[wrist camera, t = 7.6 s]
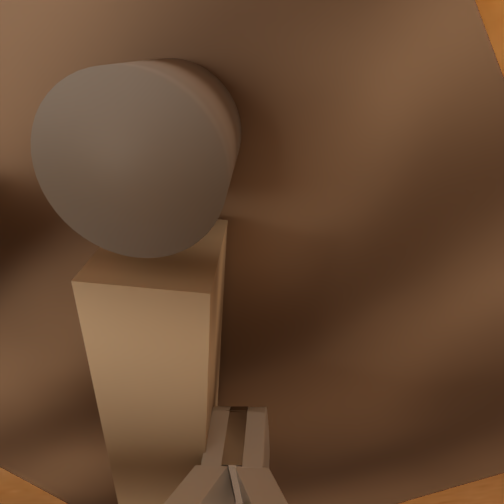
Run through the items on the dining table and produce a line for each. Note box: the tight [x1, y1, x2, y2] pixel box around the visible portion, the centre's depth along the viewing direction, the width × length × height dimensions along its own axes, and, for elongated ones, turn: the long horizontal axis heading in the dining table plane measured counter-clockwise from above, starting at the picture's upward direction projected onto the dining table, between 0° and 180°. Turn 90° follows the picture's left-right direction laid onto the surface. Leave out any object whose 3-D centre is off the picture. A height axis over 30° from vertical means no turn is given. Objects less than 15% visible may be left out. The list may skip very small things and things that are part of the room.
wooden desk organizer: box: [0, 0, 504, 504], centre depth 11 cm, size 24×22×5 cm
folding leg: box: [31, 58, 241, 504], centre depth 9 cm, size 14×3×3 cm, turn 175°
